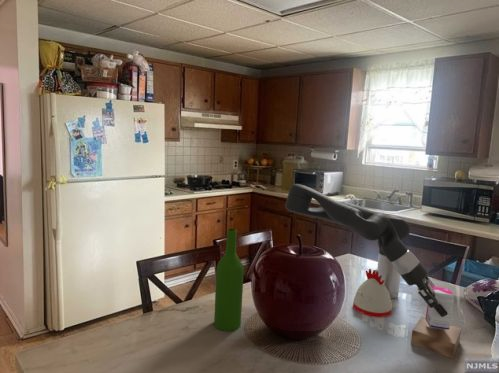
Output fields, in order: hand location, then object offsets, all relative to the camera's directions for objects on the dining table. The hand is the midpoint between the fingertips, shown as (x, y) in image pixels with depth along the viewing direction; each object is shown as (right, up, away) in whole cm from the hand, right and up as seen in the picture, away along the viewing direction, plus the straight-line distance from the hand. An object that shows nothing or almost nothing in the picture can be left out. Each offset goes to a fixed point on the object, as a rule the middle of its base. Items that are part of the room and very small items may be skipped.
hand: (444, 310), depth 116 cm
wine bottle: (-69, -7, +7) cm, 70 cm away
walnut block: (-2, -11, +2) cm, 12 cm away
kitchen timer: (-15, -8, +25) cm, 30 cm away
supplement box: (-2, -5, +1) cm, 5 cm away
